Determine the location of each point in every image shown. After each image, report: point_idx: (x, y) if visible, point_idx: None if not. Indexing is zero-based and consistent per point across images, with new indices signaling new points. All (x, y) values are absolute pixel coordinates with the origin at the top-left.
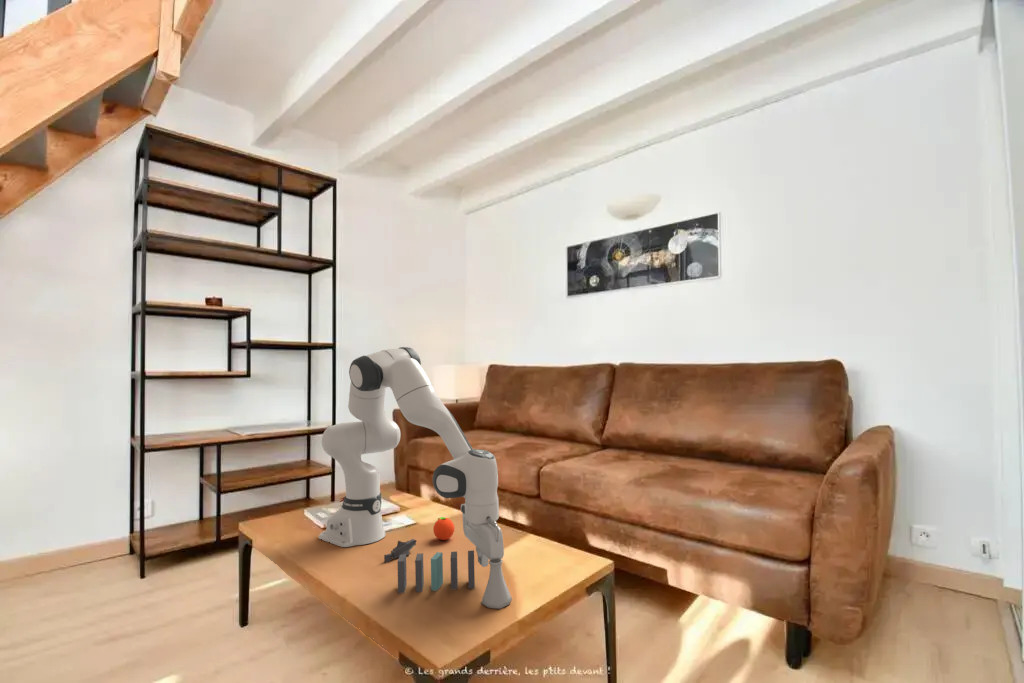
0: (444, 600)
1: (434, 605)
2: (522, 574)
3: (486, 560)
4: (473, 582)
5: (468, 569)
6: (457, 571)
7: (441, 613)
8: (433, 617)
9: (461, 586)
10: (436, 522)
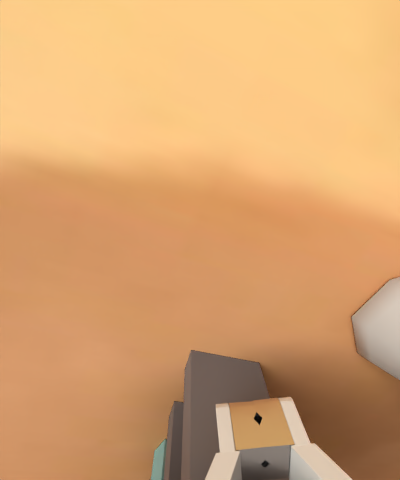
0: None
1: None
2: (225, 104)
3: (304, 442)
4: (263, 387)
5: None
6: (176, 450)
7: (359, 461)
8: (365, 477)
9: None
10: None
